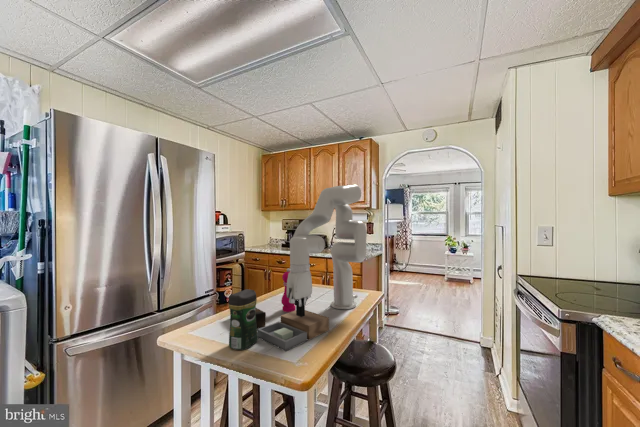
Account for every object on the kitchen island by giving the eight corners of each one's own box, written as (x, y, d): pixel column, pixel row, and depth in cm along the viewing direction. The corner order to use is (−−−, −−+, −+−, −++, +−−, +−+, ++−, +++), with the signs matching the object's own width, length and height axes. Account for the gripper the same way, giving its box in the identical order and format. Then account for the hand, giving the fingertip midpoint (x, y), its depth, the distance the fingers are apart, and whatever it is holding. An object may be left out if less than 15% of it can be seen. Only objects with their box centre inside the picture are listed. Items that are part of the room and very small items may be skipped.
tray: (278, 329, 106) (278, 321, 106) (307, 340, 95) (306, 332, 95) (257, 337, 99) (257, 329, 99) (285, 351, 88) (285, 342, 88)
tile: (273, 331, 97) (273, 337, 97) (282, 335, 94) (282, 341, 94) (284, 327, 101) (284, 332, 101) (293, 331, 98) (293, 336, 98)
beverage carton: (247, 314, 124) (246, 300, 124) (266, 327, 109) (266, 311, 109) (230, 319, 119) (229, 304, 119) (248, 332, 104) (248, 315, 104)
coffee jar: (244, 337, 99) (243, 286, 100) (261, 341, 96) (260, 288, 96) (224, 348, 91) (223, 293, 91) (242, 353, 87) (241, 295, 88)
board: (300, 320, 115) (300, 308, 115) (328, 330, 104) (328, 317, 104) (280, 328, 107) (280, 315, 107) (309, 339, 96) (308, 325, 96)
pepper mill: (294, 313, 124) (293, 269, 125) (279, 312, 126) (278, 269, 126) (298, 308, 131) (297, 267, 132) (284, 307, 133) (283, 266, 133)
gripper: (306, 264, 113) (307, 308, 112) (278, 270, 102) (279, 318, 101) (319, 266, 108) (320, 312, 107) (291, 272, 97) (292, 323, 96)
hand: (300, 315), depth 104 cm, fingers closed
